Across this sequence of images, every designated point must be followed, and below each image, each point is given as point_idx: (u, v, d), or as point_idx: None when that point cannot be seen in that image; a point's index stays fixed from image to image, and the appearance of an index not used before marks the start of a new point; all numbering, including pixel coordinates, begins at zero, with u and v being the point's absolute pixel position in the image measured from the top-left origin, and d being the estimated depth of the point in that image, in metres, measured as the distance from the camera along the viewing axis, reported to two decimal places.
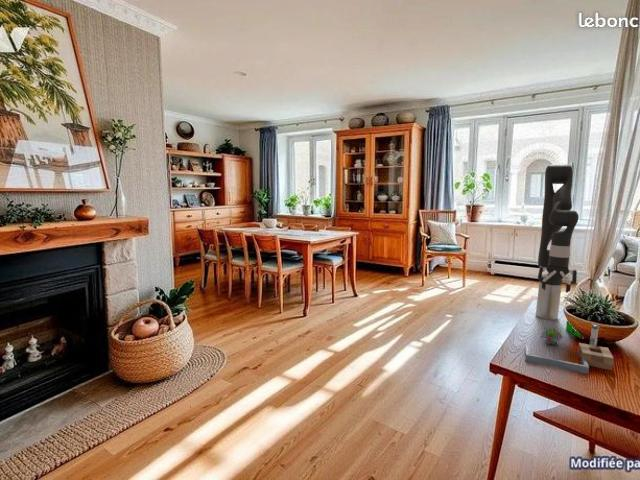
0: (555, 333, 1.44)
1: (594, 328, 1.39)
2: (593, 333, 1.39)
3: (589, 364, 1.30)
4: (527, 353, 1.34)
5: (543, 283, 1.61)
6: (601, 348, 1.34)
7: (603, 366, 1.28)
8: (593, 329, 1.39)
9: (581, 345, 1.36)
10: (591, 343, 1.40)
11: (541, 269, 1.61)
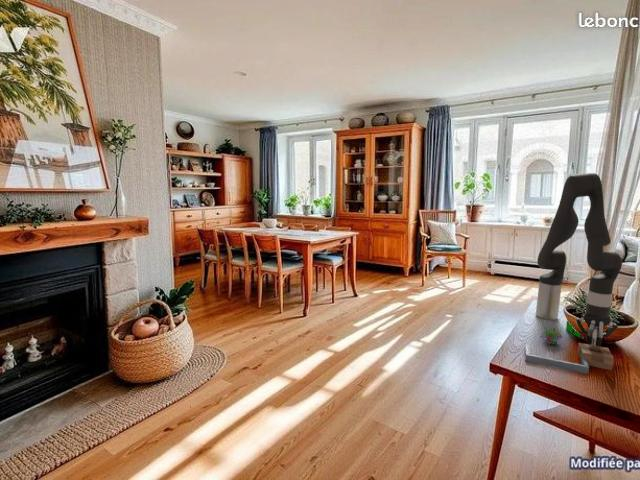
0: (555, 333, 1.44)
1: (594, 328, 1.39)
2: (593, 333, 1.39)
3: (589, 364, 1.30)
4: (527, 353, 1.34)
5: (588, 337, 1.41)
6: (601, 348, 1.34)
7: (603, 366, 1.28)
8: (593, 329, 1.39)
9: (581, 345, 1.36)
10: (591, 343, 1.40)
11: (578, 322, 1.41)
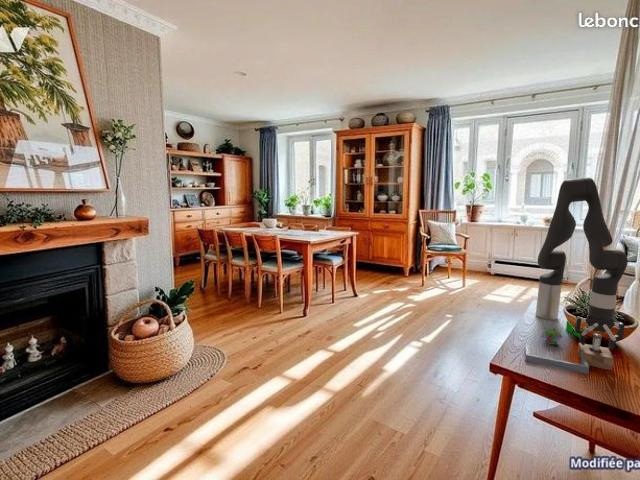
0: (555, 333, 1.44)
1: (596, 338, 1.31)
2: (595, 342, 1.31)
3: (589, 364, 1.30)
4: (527, 353, 1.34)
5: (582, 337, 1.33)
6: (601, 348, 1.34)
7: (603, 366, 1.28)
8: (595, 339, 1.31)
9: (581, 345, 1.36)
10: None
11: (579, 320, 1.32)
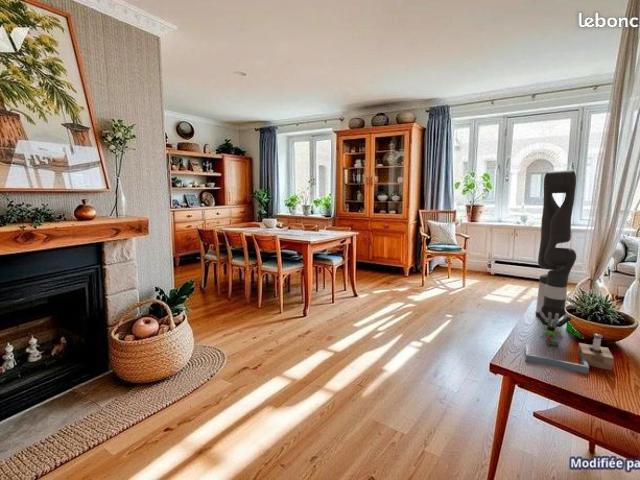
0: (555, 333, 1.44)
1: (596, 338, 1.31)
2: (595, 342, 1.31)
3: (589, 364, 1.30)
4: (527, 353, 1.34)
5: (548, 328, 1.49)
6: (601, 348, 1.34)
7: (603, 366, 1.28)
8: (595, 339, 1.31)
9: (581, 345, 1.36)
10: None
11: (538, 314, 1.49)
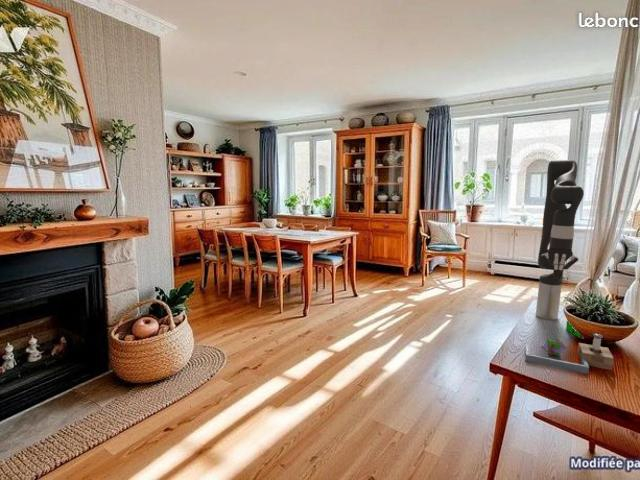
0: (557, 343, 1.35)
1: (596, 338, 1.31)
2: (595, 342, 1.31)
3: (589, 364, 1.30)
4: (527, 353, 1.34)
5: (555, 271, 1.45)
6: (601, 348, 1.34)
7: (603, 366, 1.28)
8: (595, 339, 1.31)
9: (581, 345, 1.36)
10: None
11: (544, 257, 1.46)
